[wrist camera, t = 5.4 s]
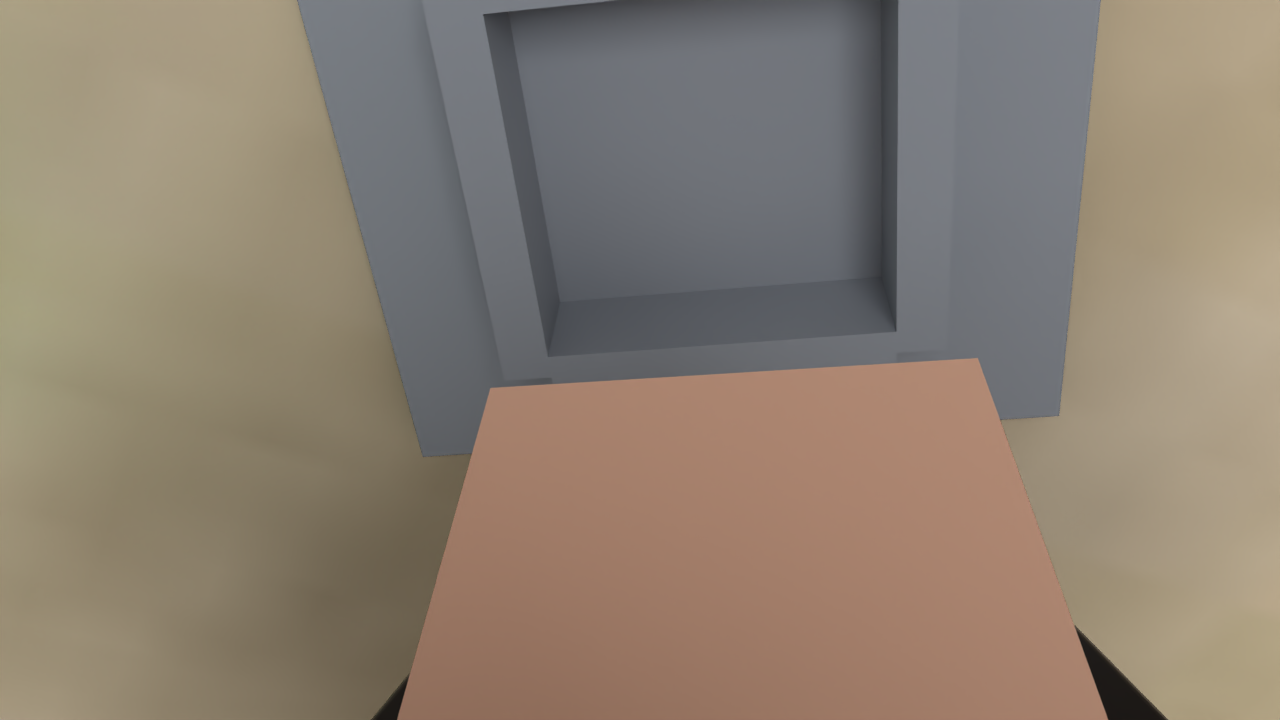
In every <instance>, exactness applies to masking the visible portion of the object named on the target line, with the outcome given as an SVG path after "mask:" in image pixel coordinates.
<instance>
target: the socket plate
mask: <svg viewBox="0 0 1280 720" xmlns="http://www.w3.org/2000/svg"><path fill="white" fill-rule="evenodd" d="M297 1H298V5H299V8H300V12H301V16H302V19H303V23H304V27H305V30H306V34H307V37H308V41H309V45H310V48H311V52H312V56H313V59H314V63H315V67H316V70H317V74H318V77H319V81H320V85H321V88H322V92H323V96H324V99H325V103H326V106H327V110H328V114H329V117H330V121H331V125H332V128H333V132H334V136H335V139H336V143H337V146H338V150H339V154H340V157H341V161H342V165H343V168H344V172H345V176H346V179H347V183H348V186H349V190H350V194H351V197H352V201H353V205H354V208H355V212H356V216H357V219H358V223H359V226H360V230H361V234H362V237H363V241H364V245H365V248H366V252H367V256H368V259H369V263H370V266H371V270H372V274H373V277H374V281H375V285H376V288H377V292H378V295H379V299H380V303H381V306H382V310H383V314H384V317H385V321H386V325H387V328H388V332H389V335H390V339H391V343H392V346H393V350H394V354H395V357H396V361H397V365H398V368H399V372H400V375H401V379H402V383H403V386H404V390H405V394H406V397H407V401H408V405H409V408H410V412H411V415H412V419H413V423H414V426H415V430H416V434H417V437H418V441H419V444H420V448H421V452H422V455H423V457H427V456H443V455H458V454H472V452H473V448H474V445H475V441H476V437H477V434H478V430H479V427H480V423H481V420H482V416H483V413H484V409H485V405H486V402H487V398H488V395H489V391H490V388H498V387H515V386H531V385H547V384H563V383H580V382H596V381H612V380H629V379H645V378H661V377H678V376H694V375H710V374H726V373H743V372H759V371H775V370H792V369H808V368H824V367H841V366H857V365H873V364H890V363H906V362H922V361H938V360H955V359H971V358H978V360H979V363H980V366H981V368H982V371H983V374H984V377H985V379H986V382H987V385H988V388H989V391H990V393H991V396H992V399H993V402H994V404H995V407H996V410H997V413H998V415H999V418H1000V420H1003V419H1019V418H1034V417H1050V416H1059V411H1060V401H1061V391H1062V381H1063V371H1064V361H1065V351H1066V341H1067V331H1068V321H1069V311H1070V301H1071V291H1072V281H1073V271H1074V261H1075V251H1076V241H1077V231H1078V221H1079V211H1080V201H1081V191H1082V181H1083V171H1084V161H1085V151H1086V141H1087V131H1088V121H1089V111H1090V101H1091V91H1092V81H1093V71H1094V61H1095V51H1096V41H1097V31H1098V22H1099V12H1100V2H1101V0H297Z"/></svg>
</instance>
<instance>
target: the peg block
mask: <svg viewBox="0 0 1280 720" xmlns="http://www.w3.org/2000/svg"><path fill="white" fill-rule="evenodd" d="M397 720H1108V718H1107V715H1106V712H1105V710H1104V707H1103V704H1102V701H1101V698H1100V696H1099V693H1098V690H1097V687H1096V685H1095V682H1094V679H1093V676H1092V673H1091V671H1090V668H1089V665H1088V662H1087V660H1086V657H1085V654H1084V651H1083V648H1082V646H1081V643H1080V640H1079V637H1078V635H1077V632H1076V629H1075V626H1074V624H1073V621H1072V618H1071V615H1070V612H1069V610H1068V607H1067V604H1066V601H1065V599H1064V596H1063V593H1062V590H1061V587H1060V585H1059V582H1058V579H1057V576H1056V574H1055V571H1054V568H1053V565H1052V562H1051V560H1050V557H1049V554H1048V551H1047V549H1046V546H1045V543H1044V540H1043V538H1042V535H1041V532H1040V529H1039V526H1038V524H1037V521H1036V518H1035V515H1034V513H1033V510H1032V507H1031V504H1030V501H1029V499H1028V496H1027V493H1026V490H1025V488H1024V485H1023V482H1022V479H1021V477H1020V474H1019V471H1018V468H1017V465H1016V463H1015V460H1014V457H1013V454H1012V452H1011V449H1010V446H1009V443H1008V440H1007V438H1006V435H1005V432H1004V429H1003V427H1002V424H1001V421H1000V418H999V415H998V413H997V410H996V407H995V404H994V402H993V399H992V396H991V393H990V391H989V388H988V385H987V382H986V379H985V377H984V374H983V371H982V368H981V366H980V363H979V360H978V358H971V359H955V360H938V361H922V362H906V363H890V364H873V365H857V366H841V367H824V368H808V369H792V370H775V371H759V372H743V373H726V374H710V375H694V376H678V377H661V378H645V379H629V380H612V381H596V382H580V383H563V384H547V385H531V386H515V387H498V388H490V391H489V395H488V398H487V402H486V405H485V409H484V413H483V416H482V420H481V423H480V427H479V430H478V434H477V437H476V441H475V445H474V448H473V452H472V455H471V459H470V462H469V466H468V469H467V473H466V477H465V480H464V484H463V487H462V491H461V494H460V498H459V501H458V505H457V509H456V512H455V516H454V519H453V523H452V526H451V530H450V533H449V537H448V541H447V544H446V548H445V551H444V555H443V558H442V562H441V565H440V569H439V573H438V576H437V580H436V583H435V587H434V590H433V594H432V597H431V601H430V605H429V608H428V612H427V615H426V619H425V622H424V626H423V629H422V633H421V637H420V640H419V644H418V647H417V651H416V654H415V658H414V661H413V665H412V669H411V672H410V676H409V679H408V683H407V686H406V690H405V693H404V697H403V701H402V704H401V708H400V711H399V715H398V718H397Z"/></svg>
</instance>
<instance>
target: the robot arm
mask: <svg viewBox="0 0 1280 720" xmlns="http://www.w3.org/2000/svg"><path fill="white" fill-rule="evenodd" d="M1074 626H1075V625H1074ZM1075 629H1076V632H1077V635H1078V637H1079V640H1080V643H1081V646H1082V648H1083V651H1084V654H1085V657H1086V660H1087V662H1088V665H1089V668H1090V671H1091V673H1092V676H1093V679H1094V682H1095V685H1096V687H1097V690H1098V693H1099V696H1100V698H1101V701H1102V704H1103V707H1104V710H1105V712H1106V715H1107V718H1108V720H1168V719H1167V718H1166V717H1165V716H1164V715H1163V714H1162V713H1161V712H1160V711H1159V710H1158V709H1157V708H1156V707H1155V706H1154V705H1153V704H1152V703H1151V702H1150V701H1149V700H1148V699H1147V698H1146V697H1145V696H1144V695H1143V694H1142V693H1141V692H1140V691H1139V690H1138V689H1137V688H1136V687H1135V686H1134V685H1133V684H1132V683H1131V682H1130V681H1129V680H1128V679H1127V678H1126V677H1125V676H1124V675H1123V674H1122V673H1121V672H1120V671H1119V670H1118V669H1117V668H1116V667H1115V666H1114V664H1113V663H1112V662H1111V661H1110V660H1109V659H1108V658H1107V657H1106V656H1105V655H1104V654H1103V653H1102V652H1101V651H1100V650H1099V649H1098V648H1097V647H1096V646H1095V645H1094V644H1093V643H1092V642H1091V641H1090V640H1089V639H1088V638H1087V637H1086V636H1085V635H1084V634H1083V633H1082V632H1081V631H1080V630H1079V629H1078V628H1077V627H1076V626H1075ZM409 676H410V674H409V675H408V676H407V677H406V678H405V680H404V681H403V682H402V683H401V684H400V686H399V687H398V688H397V689H396V690H395V692H394V693H393V694H392V695H391V697H390V698H389V699H388V700H387V701H386V703H385V704H384V705H383V706H382V707H381V709H380V710H379V711H378V712H377V713H376V715H375V716H374V717H373V718H372V719H371V720H397V718H398V715H399V711H400V708H401V704H402V701H403V697H404V693H405V690H406V686H407V683H408V679H409Z"/></svg>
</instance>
